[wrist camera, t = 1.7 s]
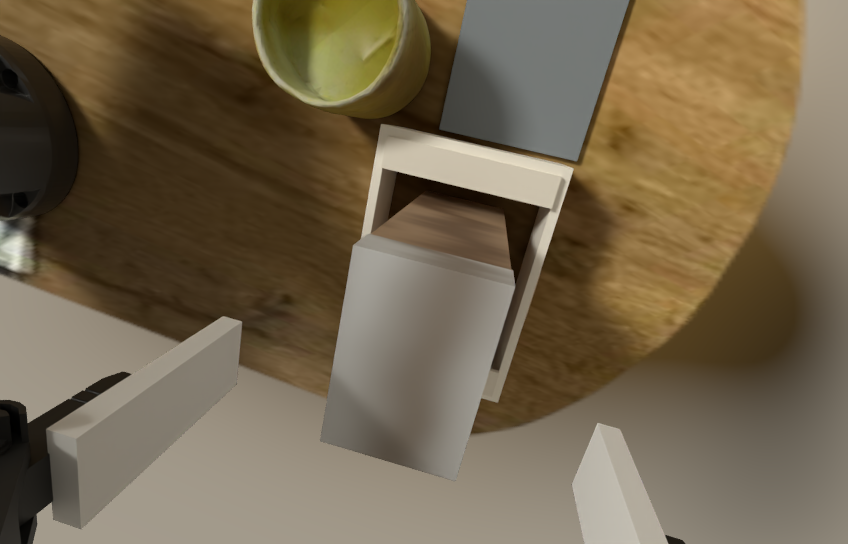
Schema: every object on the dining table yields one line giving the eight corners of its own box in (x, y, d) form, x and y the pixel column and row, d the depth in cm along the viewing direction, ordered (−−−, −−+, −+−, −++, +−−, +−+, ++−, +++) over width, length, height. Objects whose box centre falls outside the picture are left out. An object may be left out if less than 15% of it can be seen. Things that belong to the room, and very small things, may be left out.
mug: (472, 112, 29) (391, 73, 20) (353, 147, 34) (247, 127, 25) (447, -80, 28) (351, -206, 19) (328, -15, 33) (209, -91, 24)
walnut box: (402, 297, 36) (319, 441, 19) (426, 189, 33) (353, 244, 16) (474, 316, 35) (455, 481, 18) (504, 208, 32) (515, 286, 15)
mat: (439, 129, 31) (439, 129, 31) (481, -64, 28) (481, -67, 27) (576, 161, 31) (577, 161, 30) (639, -34, 27) (641, -36, 26)
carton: (359, 330, 37) (338, 361, 32) (397, 125, 32) (379, 123, 27) (498, 368, 36) (498, 406, 31) (562, 163, 31) (576, 169, 26)
